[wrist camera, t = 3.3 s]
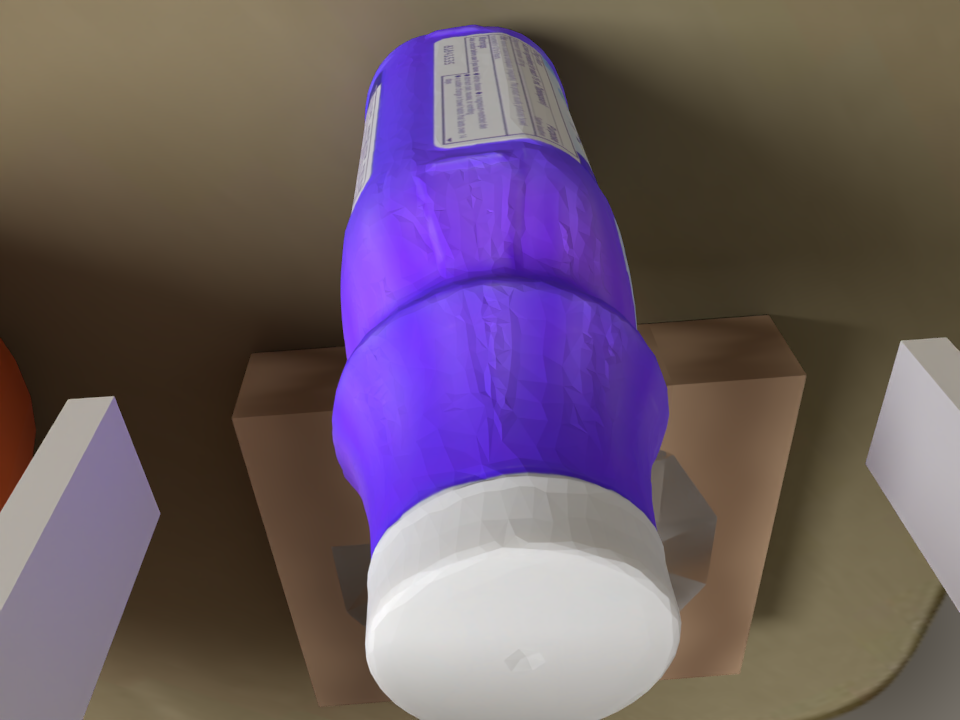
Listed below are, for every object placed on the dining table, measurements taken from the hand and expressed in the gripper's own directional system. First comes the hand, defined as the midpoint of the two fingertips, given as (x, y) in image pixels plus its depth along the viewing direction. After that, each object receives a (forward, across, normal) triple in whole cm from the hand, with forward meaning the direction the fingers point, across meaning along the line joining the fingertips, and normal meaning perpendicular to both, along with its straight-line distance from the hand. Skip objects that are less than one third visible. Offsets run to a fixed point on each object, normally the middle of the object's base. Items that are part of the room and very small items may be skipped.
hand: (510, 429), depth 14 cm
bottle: (+13, 0, 0) cm, 13 cm away
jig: (+13, +1, -14) cm, 19 cm away
